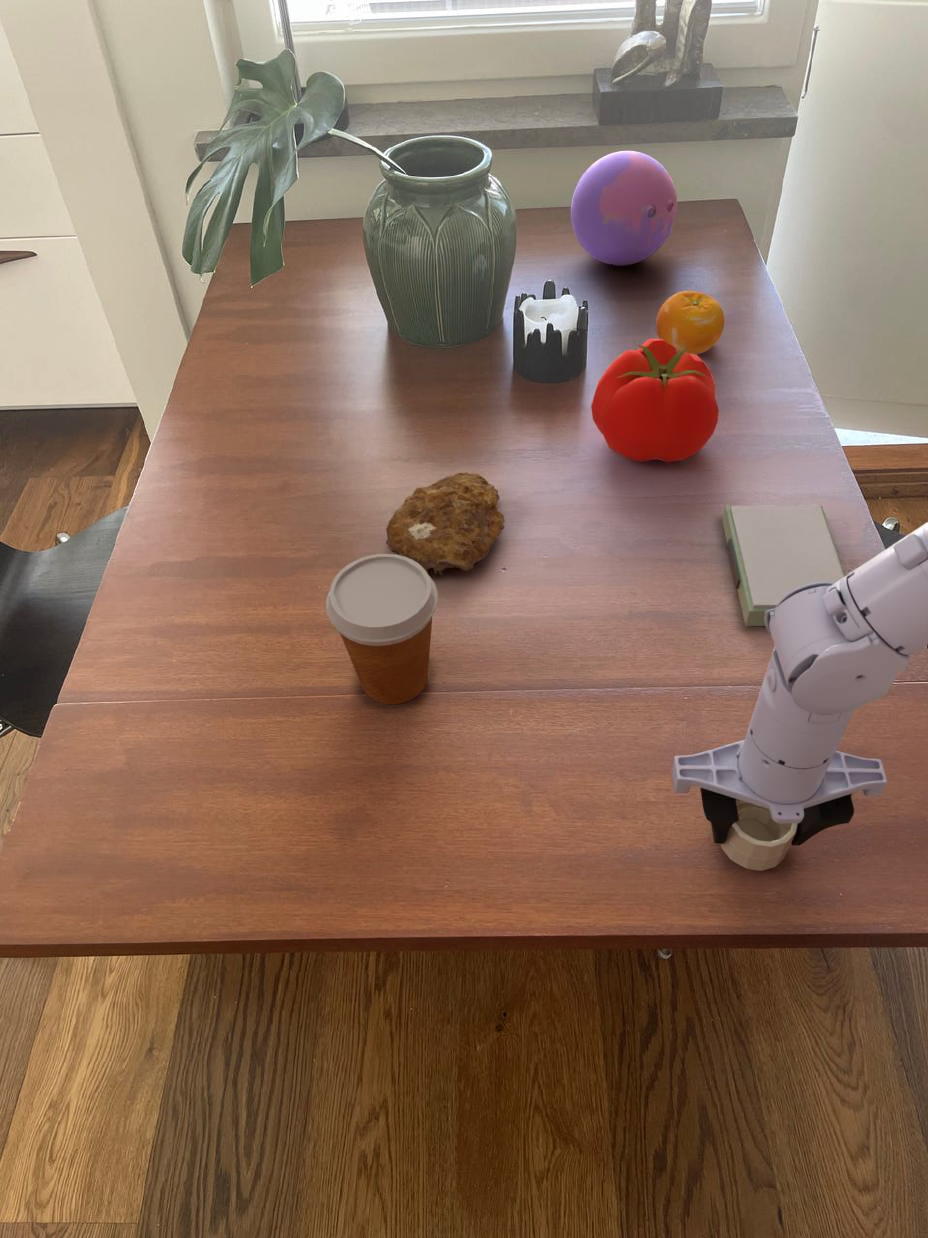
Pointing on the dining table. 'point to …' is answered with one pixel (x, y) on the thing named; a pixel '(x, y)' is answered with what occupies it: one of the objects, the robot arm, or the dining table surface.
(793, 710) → the robot arm
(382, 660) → the disposable coffee cup
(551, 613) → the dining table surface
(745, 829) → the small beige cup
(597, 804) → the dining table surface
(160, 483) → the dining table surface
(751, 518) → the scale
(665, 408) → the tomato
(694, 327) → the fruit
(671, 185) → the decorative ball
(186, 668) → the dining table surface
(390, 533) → the decorative rock
